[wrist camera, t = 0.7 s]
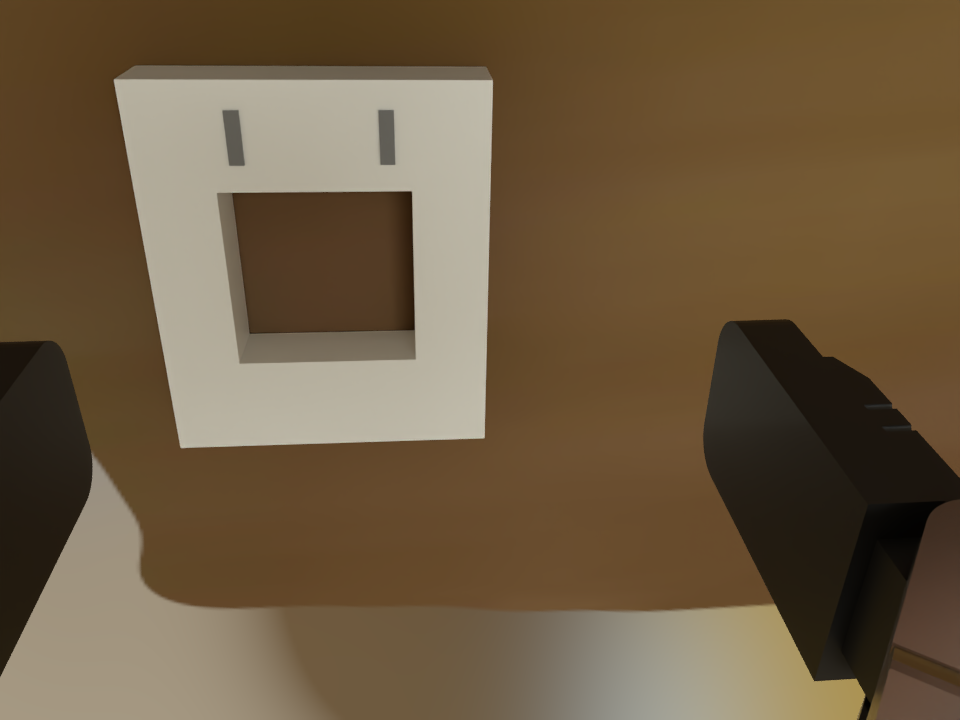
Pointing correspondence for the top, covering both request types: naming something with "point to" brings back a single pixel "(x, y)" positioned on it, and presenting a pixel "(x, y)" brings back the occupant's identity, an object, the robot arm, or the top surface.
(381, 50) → the top surface
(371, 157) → the outlet plate
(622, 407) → the top surface
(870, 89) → the top surface
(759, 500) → the robot arm
